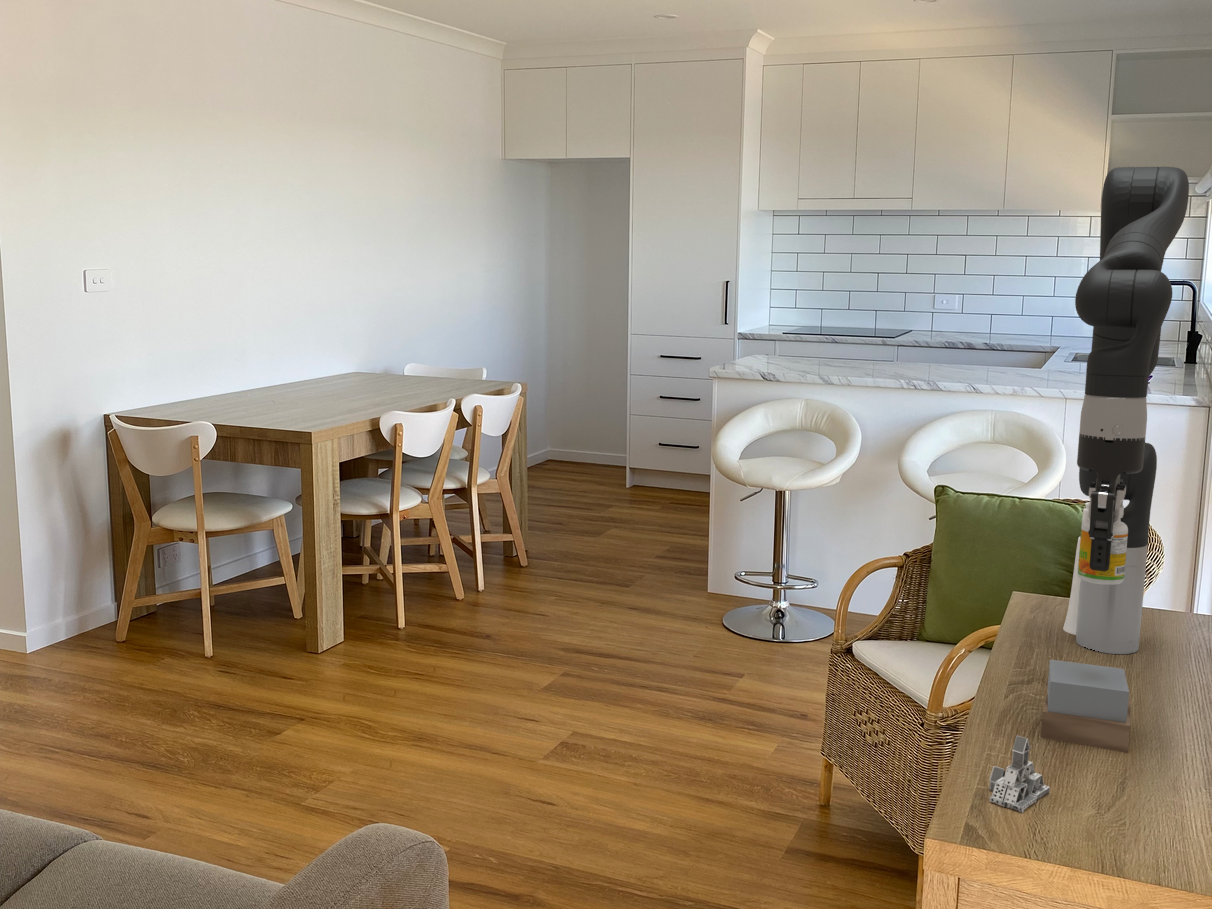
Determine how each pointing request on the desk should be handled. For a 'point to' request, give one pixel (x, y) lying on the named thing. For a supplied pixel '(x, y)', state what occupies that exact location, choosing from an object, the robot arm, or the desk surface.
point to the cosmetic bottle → (1075, 588)
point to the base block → (1086, 729)
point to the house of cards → (1017, 780)
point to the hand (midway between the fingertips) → (1101, 564)
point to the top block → (1088, 691)
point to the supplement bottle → (1116, 556)
